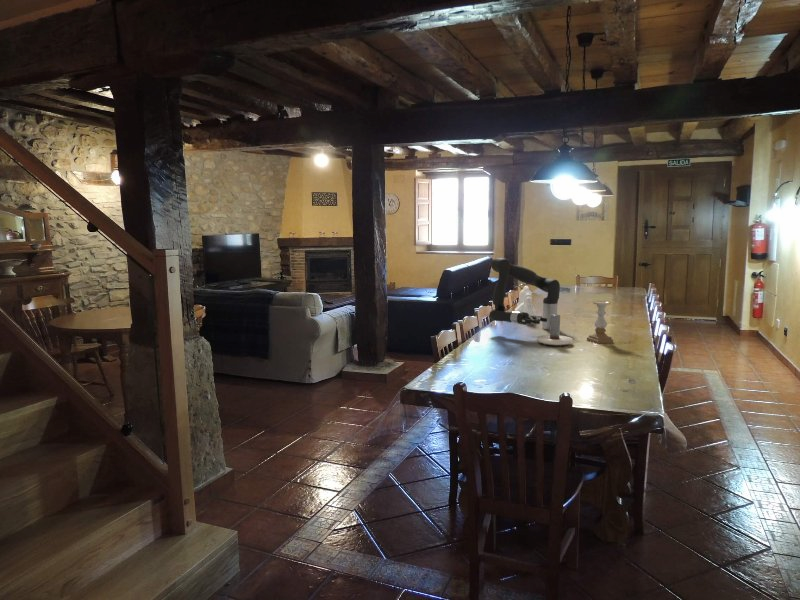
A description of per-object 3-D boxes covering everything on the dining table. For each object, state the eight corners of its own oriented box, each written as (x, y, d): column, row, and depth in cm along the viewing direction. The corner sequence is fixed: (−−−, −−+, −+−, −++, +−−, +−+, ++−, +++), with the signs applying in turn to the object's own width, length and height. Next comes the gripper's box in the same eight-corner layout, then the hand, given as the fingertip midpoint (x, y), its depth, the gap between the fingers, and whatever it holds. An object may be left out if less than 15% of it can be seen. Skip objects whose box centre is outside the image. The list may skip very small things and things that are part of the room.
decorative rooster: (514, 317, 415) (515, 284, 411) (536, 318, 411) (537, 284, 407) (511, 323, 391) (512, 288, 388) (534, 324, 387) (536, 289, 383)
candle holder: (586, 340, 338) (588, 301, 335) (601, 339, 341) (603, 300, 338) (598, 344, 328) (599, 303, 324) (613, 342, 331) (615, 302, 328)
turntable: (540, 336, 343) (540, 333, 342) (574, 339, 335) (574, 336, 334) (534, 343, 325) (534, 340, 324) (570, 346, 317) (570, 343, 316)
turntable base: (544, 340, 339) (544, 337, 339) (568, 342, 333) (568, 339, 333) (540, 345, 326) (540, 342, 326) (565, 347, 321) (565, 344, 320)
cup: (550, 337, 333) (551, 314, 331) (560, 337, 331) (560, 314, 329) (549, 339, 328) (549, 315, 326) (558, 339, 326) (559, 316, 324)
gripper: (513, 313, 339) (537, 316, 328) (525, 310, 349) (549, 313, 338) (513, 325, 340) (537, 329, 329) (525, 322, 350) (549, 325, 339)
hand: (543, 321), depth 333 cm, fingers open, 8 cm apart
